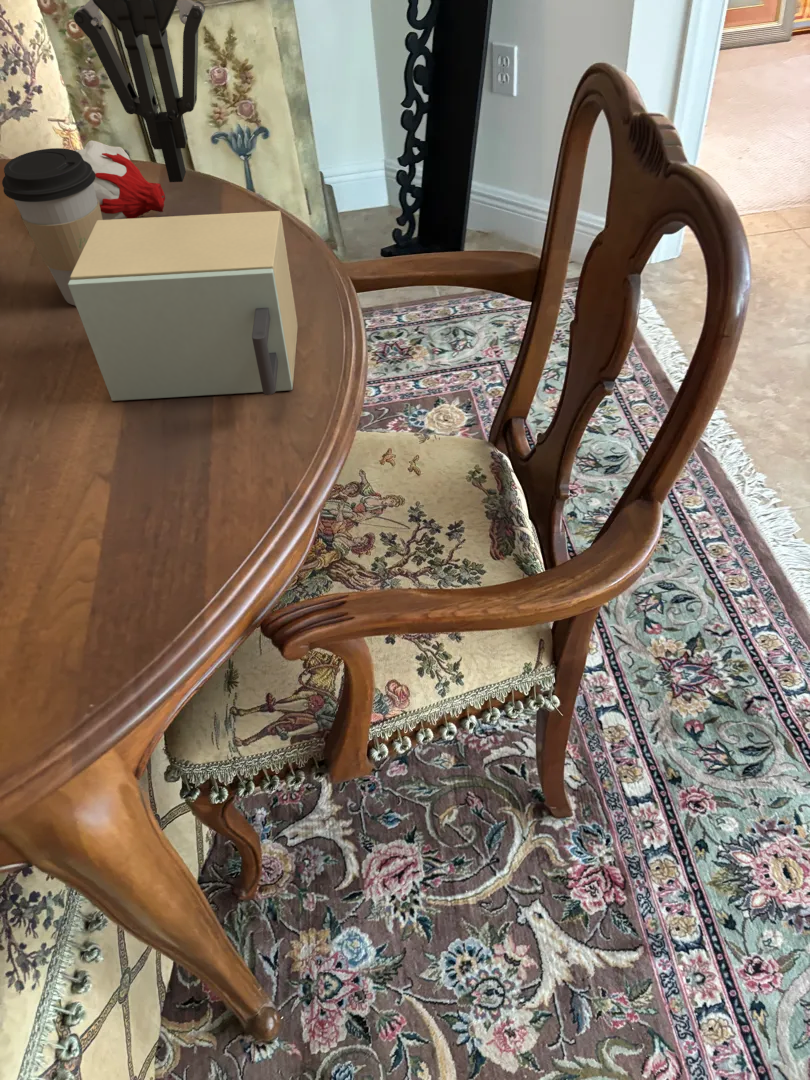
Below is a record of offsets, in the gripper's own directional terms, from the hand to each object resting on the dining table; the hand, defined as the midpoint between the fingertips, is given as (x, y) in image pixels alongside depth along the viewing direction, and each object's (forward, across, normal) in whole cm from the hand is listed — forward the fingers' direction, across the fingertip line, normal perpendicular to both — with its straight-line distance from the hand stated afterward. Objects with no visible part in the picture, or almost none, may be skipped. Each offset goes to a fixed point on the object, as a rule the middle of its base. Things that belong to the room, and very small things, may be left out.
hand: (177, 176), depth 90 cm
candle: (+10, +12, -12) cm, 20 cm away
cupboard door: (+10, -4, +31) cm, 32 cm away
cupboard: (+10, -4, +22) cm, 25 cm away
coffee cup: (+10, +12, +7) cm, 17 cm away
